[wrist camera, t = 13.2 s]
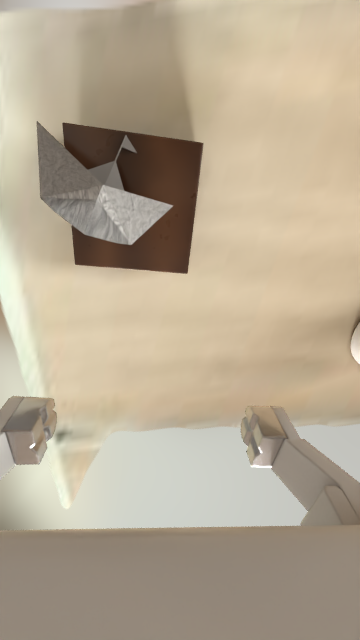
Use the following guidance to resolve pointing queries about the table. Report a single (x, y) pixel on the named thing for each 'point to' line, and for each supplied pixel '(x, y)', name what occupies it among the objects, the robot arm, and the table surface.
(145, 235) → the walnut block
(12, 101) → the table surface
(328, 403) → the table surface
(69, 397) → the table surface
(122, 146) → the paper boat
